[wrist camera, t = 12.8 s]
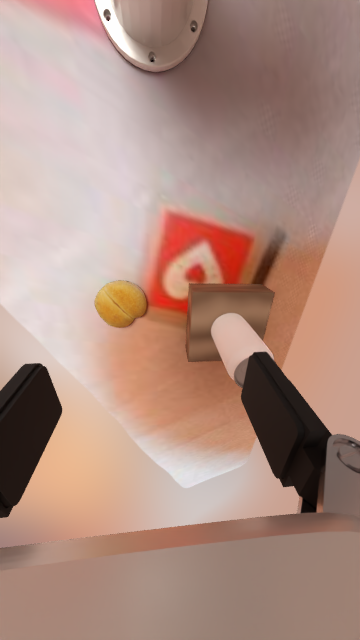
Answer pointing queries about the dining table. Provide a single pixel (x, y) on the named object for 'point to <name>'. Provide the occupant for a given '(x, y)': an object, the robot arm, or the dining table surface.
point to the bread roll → (120, 303)
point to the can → (236, 344)
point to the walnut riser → (220, 300)
